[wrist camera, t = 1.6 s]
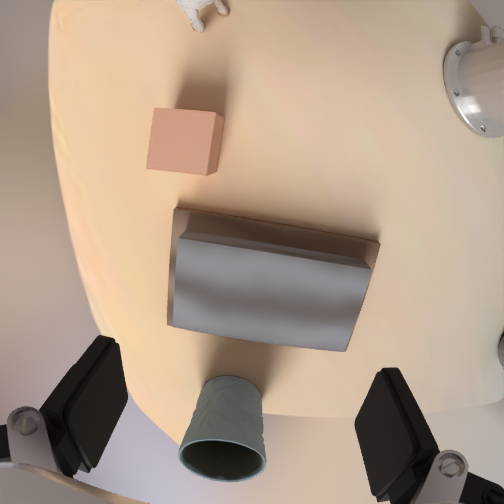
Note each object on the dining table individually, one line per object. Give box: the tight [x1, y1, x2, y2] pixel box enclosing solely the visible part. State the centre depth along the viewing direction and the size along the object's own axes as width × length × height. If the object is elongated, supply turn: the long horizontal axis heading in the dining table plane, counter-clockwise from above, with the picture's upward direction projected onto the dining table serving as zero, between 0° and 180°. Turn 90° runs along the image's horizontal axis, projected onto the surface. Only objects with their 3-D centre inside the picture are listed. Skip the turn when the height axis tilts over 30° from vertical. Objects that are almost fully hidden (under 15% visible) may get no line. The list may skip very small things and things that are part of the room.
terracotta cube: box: [146, 108, 225, 176], centre depth 27 cm, size 6×6×6 cm
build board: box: [167, 207, 380, 352], centre depth 32 cm, size 14×22×4 cm, turn 81°
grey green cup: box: [178, 376, 266, 482], centre depth 34 cm, size 10×10×12 cm
